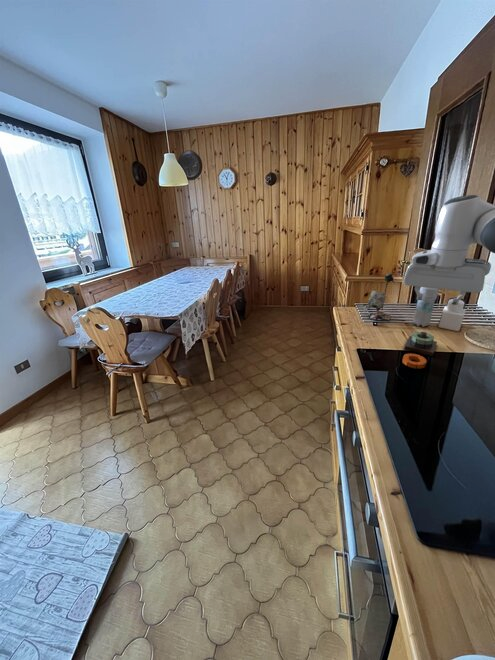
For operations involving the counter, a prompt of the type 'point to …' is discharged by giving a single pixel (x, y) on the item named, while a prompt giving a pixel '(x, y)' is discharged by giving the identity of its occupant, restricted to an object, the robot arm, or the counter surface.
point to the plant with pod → (379, 301)
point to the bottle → (425, 306)
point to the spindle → (419, 350)
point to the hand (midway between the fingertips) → (436, 301)
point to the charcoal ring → (420, 345)
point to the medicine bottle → (453, 315)
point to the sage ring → (426, 341)
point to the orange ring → (412, 364)
